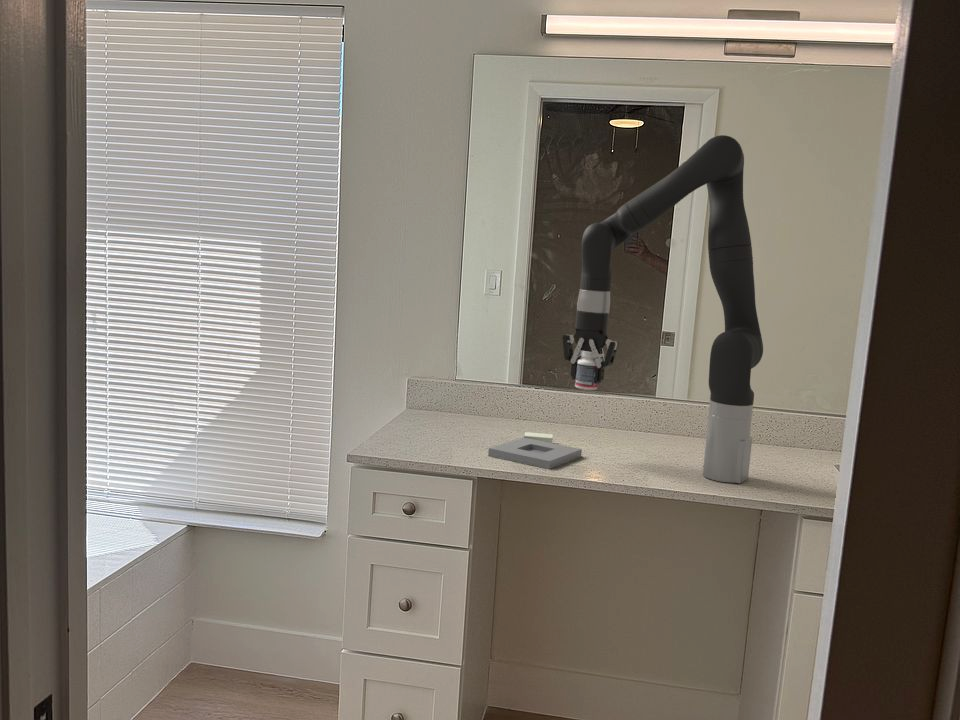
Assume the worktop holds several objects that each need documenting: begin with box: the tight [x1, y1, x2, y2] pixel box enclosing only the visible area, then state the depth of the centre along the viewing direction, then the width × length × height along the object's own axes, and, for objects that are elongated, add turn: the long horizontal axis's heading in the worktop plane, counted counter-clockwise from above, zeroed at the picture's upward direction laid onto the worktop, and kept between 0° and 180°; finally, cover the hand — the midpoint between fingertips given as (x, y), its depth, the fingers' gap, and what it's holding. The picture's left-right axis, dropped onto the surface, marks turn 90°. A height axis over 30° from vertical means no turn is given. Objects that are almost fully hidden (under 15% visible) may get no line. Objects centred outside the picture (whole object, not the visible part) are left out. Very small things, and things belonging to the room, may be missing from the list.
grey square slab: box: [487, 436, 583, 470], centre depth 201 cm, size 16×16×2 cm
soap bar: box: [523, 431, 554, 443], centre depth 214 cm, size 7×4×2 cm, turn 84°
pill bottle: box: [574, 350, 598, 391], centre depth 201 cm, size 5×5×9 cm
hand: (586, 380), depth 202 cm, fingers closed on pill bottle, 5 cm apart
